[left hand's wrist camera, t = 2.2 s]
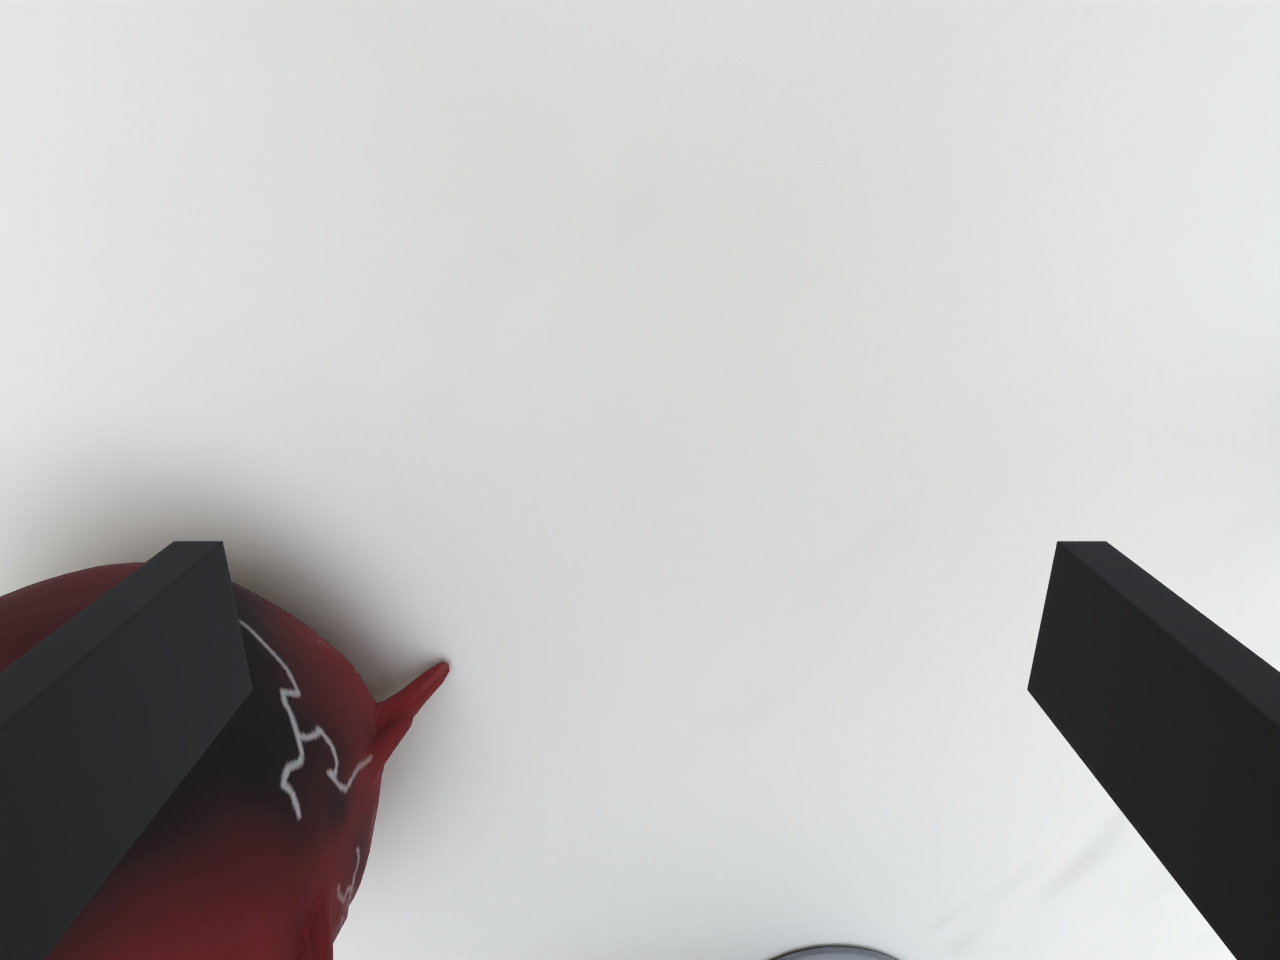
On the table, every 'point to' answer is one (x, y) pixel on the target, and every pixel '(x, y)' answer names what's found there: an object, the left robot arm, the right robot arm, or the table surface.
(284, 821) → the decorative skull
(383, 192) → the table surface
